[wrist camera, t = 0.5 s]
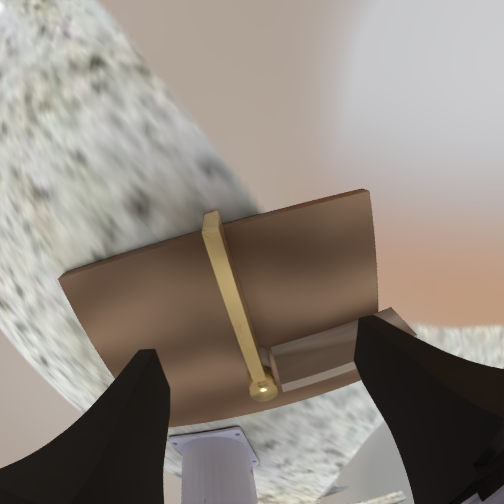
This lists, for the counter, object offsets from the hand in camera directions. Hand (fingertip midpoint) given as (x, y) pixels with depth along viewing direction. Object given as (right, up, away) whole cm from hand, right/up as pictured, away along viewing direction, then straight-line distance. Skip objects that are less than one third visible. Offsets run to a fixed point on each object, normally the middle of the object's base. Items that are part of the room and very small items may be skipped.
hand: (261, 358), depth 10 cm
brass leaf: (-1, +1, +9) cm, 9 cm away
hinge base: (-1, -2, +12) cm, 12 cm away
